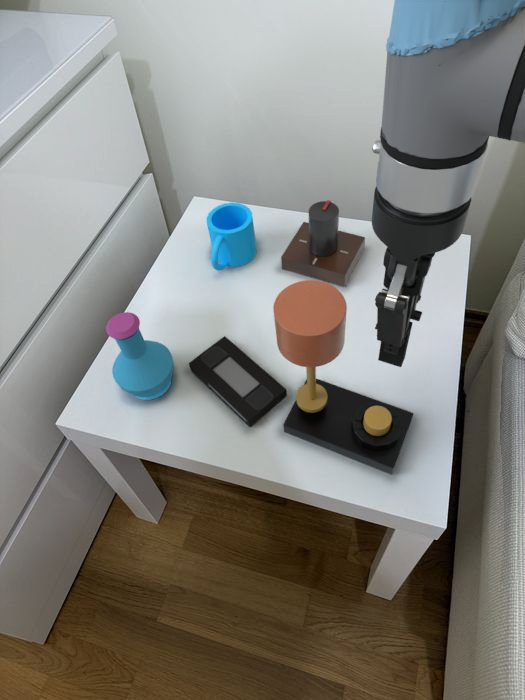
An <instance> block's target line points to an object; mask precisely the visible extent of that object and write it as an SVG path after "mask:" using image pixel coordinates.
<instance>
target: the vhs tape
mask: <svg viewBox="0 0 525 700" xmlns="http://www.w3.org/2000/svg"><path fill="white" fill-rule="evenodd" d="M188 366H189V368H190V371H191V372H192V373H193V374H194V375H195V376H196V377H197V378H198V380H200V381H201V382H202V383H203V384H204V385H205V386H206V387H207V388H208V389H209V390H210V391H212V393H213V394H214V395H215V396H216V397H218V399H220V400H221V401H222V402H223V403H224V405H226V406H227V407H228V408H229V410H231V411H232V412H233V413H234V414H236V416H237V417H238V418H240V420H242V421H243V423H245V425H247V427H249V428H251V427H252V426H253V425H254V424H256V423H257V422H258V421H259V420H261V419H262V418H263V417H264V416H265V415H266V414H267V413H269V412H270V411H271V410H272V409H274V407H275V406H277V405H278V404H279V403H281V401H283V400H284V399H285V398H286V397H287V396H288V393H287V388H286V387H284V385H282V384H281V383H280V382H279V381H278V380H277V379H275V377H273V376H271V374H269V373H268V372H267V371H266V370H265V369H263V367H261V366H260V365H259V364H258V363H257V362H256V361H254V360H253V359H252V358H251V357H250V356H249V355H247V353H245V352H244V351H243V350H242V349H240V348H239V347H238V346H237V345H236V344H235V343H233V341H232V340H230V339H229V338H228V337H226V335H224V336H223V337H221V338H220V339H219V340H217V341H216V342H214V343H213V344H211V346H209V347H208V348H207V349H205V350H204V351H203V352H201V353H200V354H199V355H197V356H196V357H195V358H194V359H192V360H191V361H189V363H188Z"/></svg>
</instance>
